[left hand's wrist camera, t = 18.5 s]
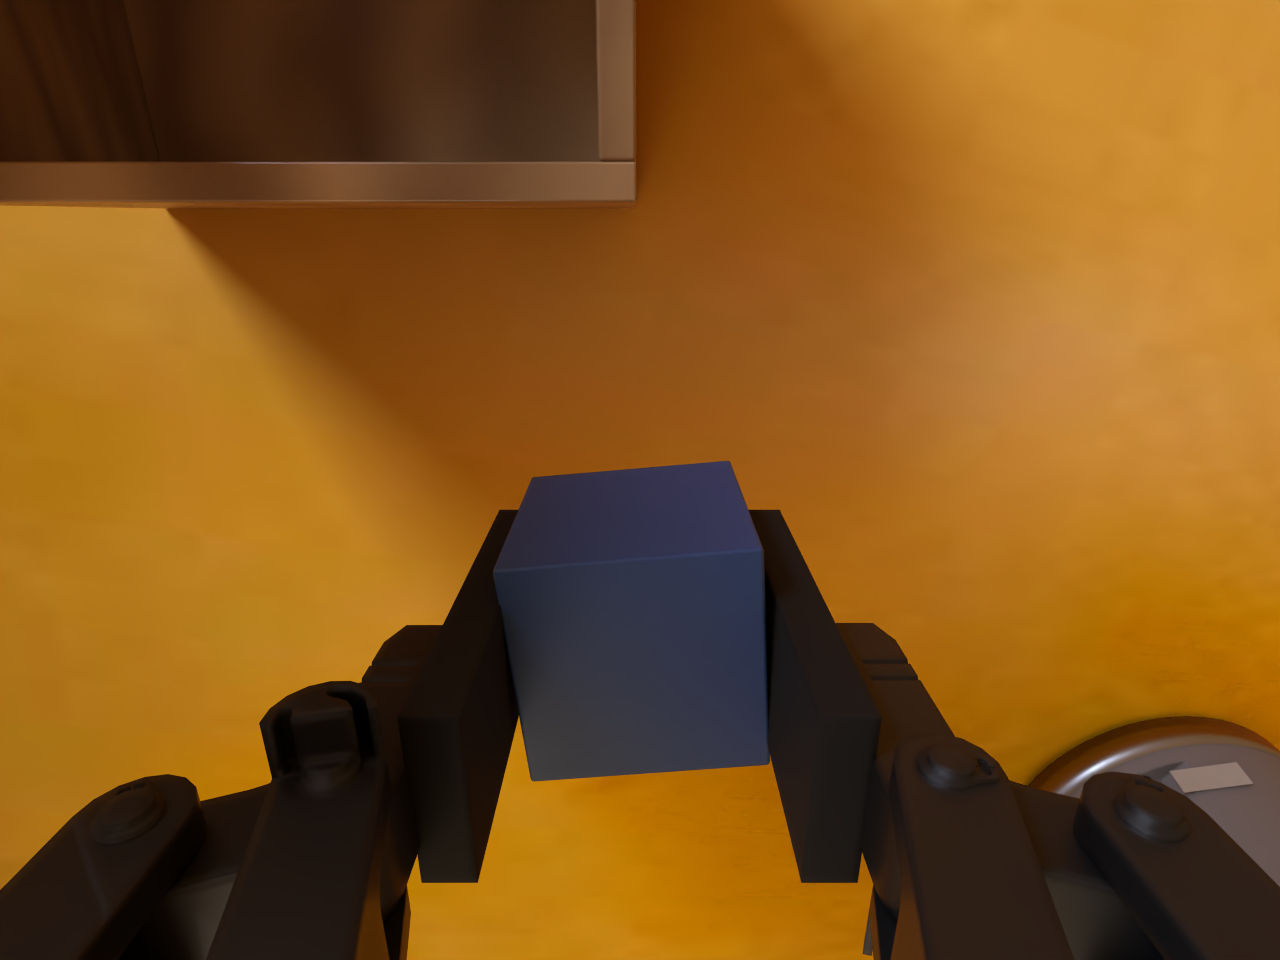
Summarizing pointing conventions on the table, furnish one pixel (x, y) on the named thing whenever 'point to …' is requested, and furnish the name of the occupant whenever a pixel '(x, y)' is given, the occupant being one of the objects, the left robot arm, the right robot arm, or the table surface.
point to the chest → (318, 103)
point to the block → (636, 623)
